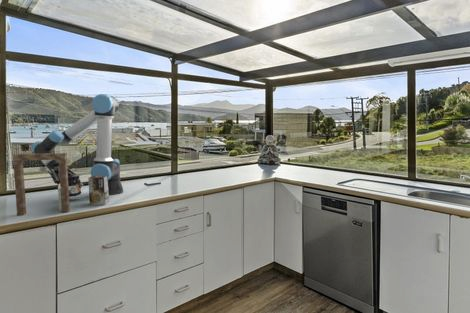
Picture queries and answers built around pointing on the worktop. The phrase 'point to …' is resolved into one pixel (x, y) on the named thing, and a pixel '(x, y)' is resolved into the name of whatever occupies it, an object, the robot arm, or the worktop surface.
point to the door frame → (20, 178)
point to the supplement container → (74, 185)
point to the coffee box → (98, 190)
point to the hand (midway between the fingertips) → (75, 188)
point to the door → (59, 198)
